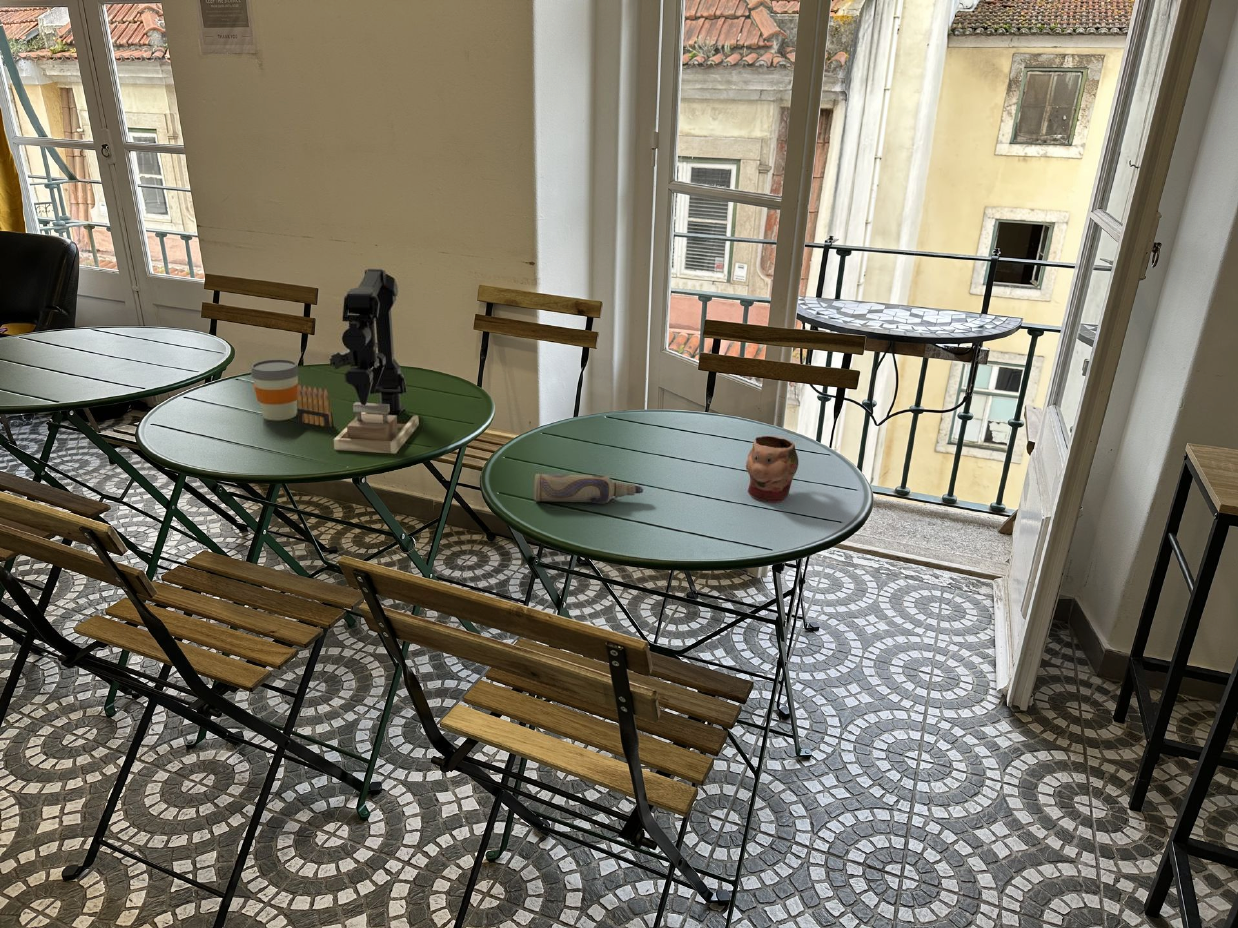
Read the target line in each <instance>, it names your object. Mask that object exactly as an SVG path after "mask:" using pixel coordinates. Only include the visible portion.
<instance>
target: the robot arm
mask: <svg viewBox="0 0 1238 928" xmlns="http://www.w3.org/2000/svg"><path fill="white" fill-rule="evenodd" d="M398 288H399V286H398V284H397V281H396V279H395V278H394V277H393V276H391V275H389V274H387V272H386V270H385V269H384V270H383V269H382V268H367V269H365V270H364V276H363V278H362V279H361V281H360V283H359V285H358V287H355V288H354V287H353V288H350V289H349V290H348V291H347V293H346V294H345V295H344V297H343V307H342V308H343V310H342V318H341V319H342V322H348V327H347V329H345V330H344V331H343V333H342V336H341V341H342V344H343V345H344V347H345V348H346V349H345V350H342V351H337V352H335V353H332V354H331V355H330V357H329V361H330V362H329V365H330V366H333V368H334V370H338V369H341V368H343V367H345V366H350V367H349V369H348V370H347V371H346V372H345V373H344V376H343V377H344V382H345V383H347V384H348V385H351V386H352V387H353V388H354V389H355V392H356V394H357V397H358V399H359V402H360V403H361V405H366V403H368V402H367V401H368V399H369V396H370V394H371V395H374V394H379V396H380V404H389V407H390V412H389V413H388V414H387V415H394V416H399V415H400V414H401V413H402V412H403V411H404V409H406V408H405V406H401V405H402V404H401V395H404V394H406V393H407V382H406V379H405V378H404V374H403V373H402V371H401V370H402V369H401V366H400V364H399V363H398V362H397V360H396V358H395V351H394V335H393V334H394V333H393V320H392V319H393V318H392V308H393V307H394V304H395V303H396V301H397V297H398V293H399V289H398ZM376 414H378V415H381V414H380V413H376Z"/></svg>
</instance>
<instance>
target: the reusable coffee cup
mask: <svg viewBox="0 0 1238 928" xmlns="http://www.w3.org/2000/svg"><path fill="white" fill-rule="evenodd" d="M297 363H298V362H296V361H294V360H290V359H282V358H281V359H278V358H277V359H276V358H275V359H265V360H261V361H257V362H255V363H252V365H251V368H250V369H251V370H250V371H251V374H250V375H251V378H253V382H254V384H253V388H254V392H255V396H256V399H257V402H259V405H260V409H261V411H262V416H263V418H264V419H265V420H268V421H285V420H289V419H292V418H294V417H296V416H297V415H298V410H297V409H298V385H299V384H300V381H299V374H300V373H299V367H298V364H297Z"/></svg>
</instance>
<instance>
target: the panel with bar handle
mask: <svg viewBox="0 0 1238 928" xmlns="http://www.w3.org/2000/svg"><path fill="white" fill-rule="evenodd" d="M352 408H353V409H352V410H353V413H356V416H355V418H354V419H353V420H351V422H349V423H348V424H347V426H346V427H347V432H348V439H363V440H379V441H393V439H394V438H395V437H396V436H397V435H398V434H399V432H398V427H397V424H398V415H389V414H388V413H389V412H390V407H389V404H381V403H373V402H371V403H370V402H367V403H366V405H361V402H360V401H359V402H357V401H355V402H354V403H353V404H352ZM362 412H364V413H367V414H362ZM377 413H380V414H377Z"/></svg>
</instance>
